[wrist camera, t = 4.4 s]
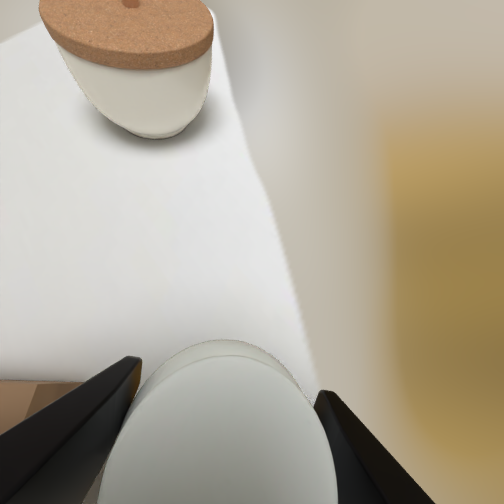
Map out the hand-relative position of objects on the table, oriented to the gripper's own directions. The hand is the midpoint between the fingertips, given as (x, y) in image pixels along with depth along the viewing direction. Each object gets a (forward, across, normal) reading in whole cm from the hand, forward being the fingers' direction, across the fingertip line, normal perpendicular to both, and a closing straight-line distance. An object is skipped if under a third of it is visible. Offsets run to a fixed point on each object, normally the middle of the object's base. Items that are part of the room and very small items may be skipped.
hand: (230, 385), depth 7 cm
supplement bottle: (+4, 0, +6) cm, 7 cm away
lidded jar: (+20, +11, -10) cm, 25 cm away
